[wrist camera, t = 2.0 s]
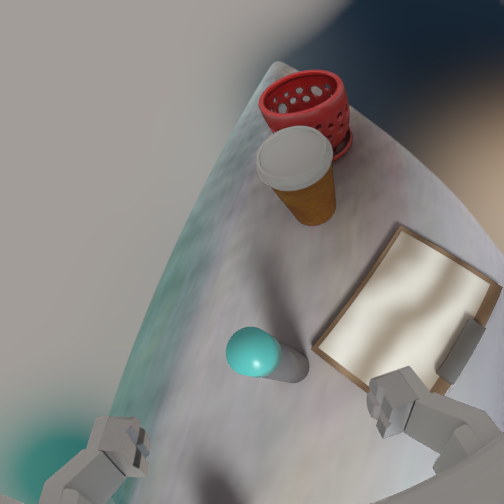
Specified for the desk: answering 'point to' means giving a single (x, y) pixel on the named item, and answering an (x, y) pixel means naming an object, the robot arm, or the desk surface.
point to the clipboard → (411, 316)
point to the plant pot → (310, 107)
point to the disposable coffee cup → (299, 172)
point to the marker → (265, 356)
